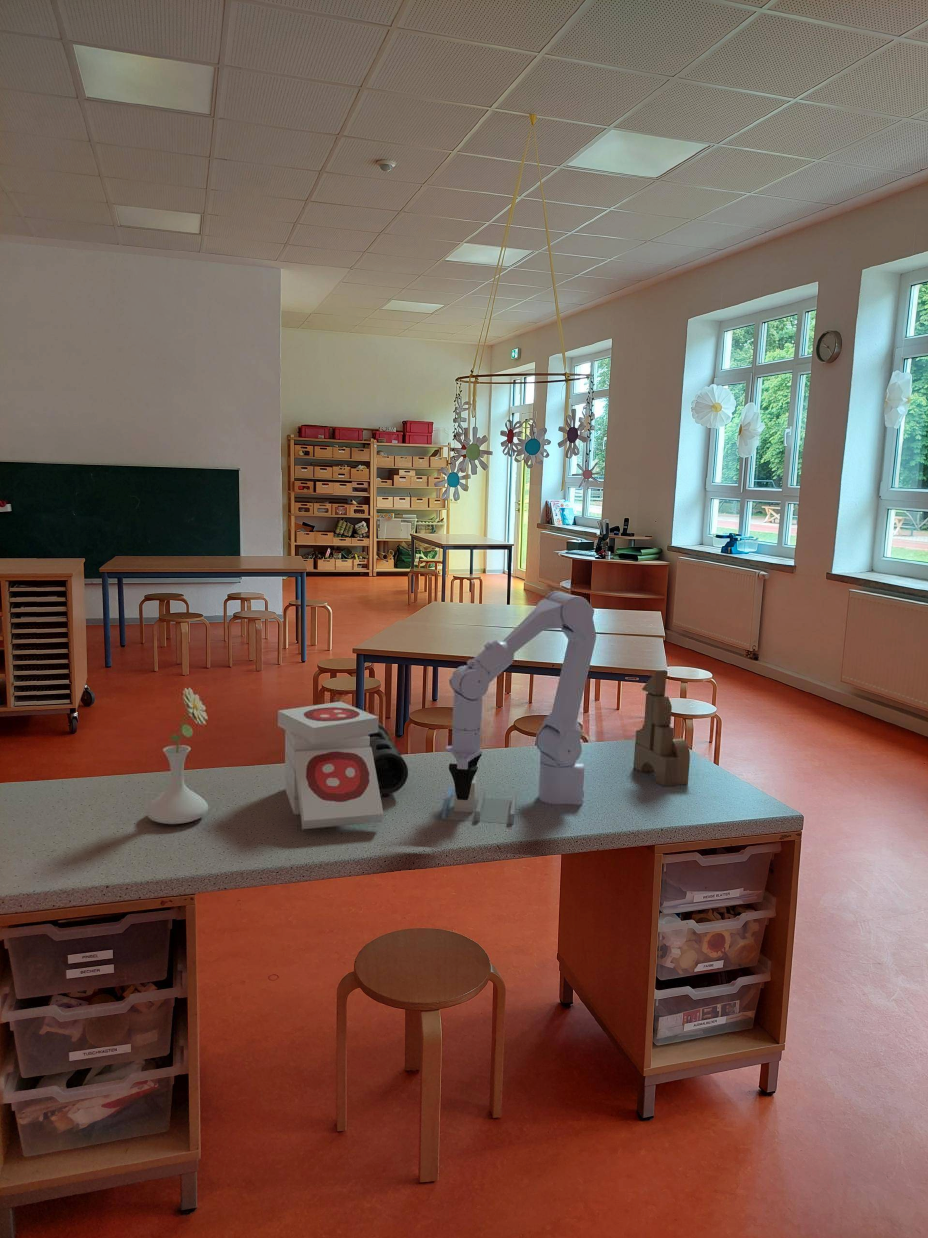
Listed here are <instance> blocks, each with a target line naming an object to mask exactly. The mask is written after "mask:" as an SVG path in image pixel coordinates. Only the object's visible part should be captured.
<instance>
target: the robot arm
mask: <svg viewBox="0 0 928 1238" xmlns="http://www.w3.org/2000/svg"><path fill="white" fill-rule="evenodd" d="M594 615H595V609H594V608H593V606H592V605H591V604H590V603H589V601H588V600H587V599H586V598H584V597H583V596H580V595H579V596H577V595H573V594H570V593H567V592H566V593H565V592H564V591H562V590H554V591H551V592H550V593H548V594H547V595H546V596H545V598H542V599H541V600H540V601H538V602H537V605H536V606H535V608H534V609H533V610H532V611H531V612H530V613H529V614H528V615H527V616H526V617H525V618H524V619H523V620H522V621H521V622H520V623H519V624H518V625H516V627H515V628H514V629H513V630H512V631H511V632H509V634H508V635H507V636H506V637H505V638H504V639H503V640H493V641H491V642H489V641H488V642H487V643H485V644H484V645H483V646H484V649H483V650H481V651H480V652H479V653H478V654H477V655H476V656H474V657H473V658H472V659H468V660H467V661H466V665H461V666H458V667H457V668H456V669H454V671H453V672H452V675H451V678H449V680H448V682H449V685H450V688H451V689H452V691H453V702H452V703H453V704H452V706H453V707H452V708H453V709H452V730H451V731H452V736H451V745H446V747H445V752H447V753H451V754H452V755H453V757H454V758H455V760H456V763H452V762H451V763H448V770H449V773H450V775H451V777H452V779H453V784H454V792H455V791H456V796H457V799H458V800H468V798H469V794H470V789H471V784H472V780H473V777H475V776H476V773H477V772H478V769H479V766H477V765H478V763H479V760H480V759H481V757H482V755H483V751H482V748H481V746H482V745H481V742H482V719H483V718H482V717H483V716H482V715H483V696H485V695H486V694H487V692H488V690H489V687H490V686H489V685H490V684H491V682H492V681H494V680H495V679H496V678H497V677H498V676H499V675H500V674H501V673H502V672H504V671H505V670H506V669H507V668H508V667H510V666H511V665H512V664H513V662H514V659H515V653H516V652H518V651H519V650H520V649H521V648H523V647H524V646H525V645H527V644H528V643H529V642H530V641H532V640H533V639H534V638H536V637H537V636H538V635H539V634H540V633H542V632H543V631H545V630H550V629H554V630H555V629H560V631H561V632H563V634H564V636H565V637H566V638H567V645H566V650H565V653H564V656H563V662H562V667H561V670H560V674H559V679H558V683H557V687H556V688H557V689H556V692H555V696H554V699H553V705H552V708H551V709H552V710H551V712H550V713H549V714H548V715H547V716H545V718H544V719H543V723H542V725H541V727H540V729H539V730H538V732H537V733H536V736H535V742H534V743H535V746H536V748H537V749H538V750H539V752H540V755H539V756H540V757H539V760H540V761H539V772H538V773H539V776H538V791H537V792H538V793H537V795H538V799H539V800H540V801H541V802H543V803H547V804H552V805H576V806H577V805H579V806H583V799H584V798H585V789H584V784H585V783H584V779H585V764H584V763H585V762H584V763H583V762H579V761H578V760H579V759H580V757H581V754H582V751H583V749H582V743H581V741H582V740H581V739H582V733H583V732H582V728H581V727H580V724H579V721H578V717H579V713H580V709H581V704H582V701H583V695H584V692H585V687H586V684H587V678H588V675H589V670H590V666H591V662H592V657H593V652H594V649H595V644H596V640H597V632H596V627H595V621H594Z"/></svg>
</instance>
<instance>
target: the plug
mask: <svg viewBox="0 0 928 1238" xmlns="http://www.w3.org/2000/svg"><path fill="white" fill-rule="evenodd" d="M477 778H478V777H477V776H474V777H473V780H472V784H471V789H470V794H469V798H468V800H458V799H457V796H456V791H455V790H454V792H453V796H454V811H462V812H474V810H475V806H476V797H477V785H478V784H477V782H478V781H477Z"/></svg>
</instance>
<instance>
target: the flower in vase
mask: <svg viewBox="0 0 928 1238" xmlns="http://www.w3.org/2000/svg"><path fill="white" fill-rule="evenodd" d="M193 691H194V690H192V688H191V687H188V689H187V688H184V690H183V692H182V693H183V695H182V698H183V700H182V701H183V704H184V705H185V709H186V710H187V711H186V712H185V714H184V717H183V719H182V721H181V724H180V729H179V732H178V733H179V734H178V735H176V734H174V733H173V734H172V735H171V737H170V738H169V739H168V741H170V742H177V744H176V745H175V744H174V745H169V746H166V747H164V748H163V749H162V751H163V752H162V753H164V754H165V755H166V757H167V759H168V763H169V766H170V767H169V768H170V785H169V786H168V788H167V789H166V790H165V791H164V792H163V793H161V794H159V796H157V797H156V798H155V799H154V800H153V801H152V802H151V803H150V804H149V805H148V806H147V809H146V812H145V814H146V816H147V817H148V818H149V820H151V821H153V822H155V823H158V824H159V823H160V824H167V825H178V824H179V825H180V824H185V823H190V822H194V821H197V820H199V819H201V818H203V817H204V816H205V815H206V814H207V813H208V812H209V804H208V803H207V801H206V800H205V799H204V798H203V797H201V796H200V795H199V794H197V793H196V792H194V791H192V790H191V789H189V788H188V787H187V786H186V783H185V781H184V780H185V779H184V767H185V766H184V765H185V761H186V758H187V755H188V754H189V752H190V751H191V747H190V746H188V745H183V744H180V741H181V740H182V739H183V738H184V736H185V737H186V738H190V737H192V736H193V728H192V727H191V726H190V725H188V724H184V723H185V722H186V718H187V716H188V715H189V716H190V717H191V719H192V720H193V721H194V723H195V724H196V725H200V726H204V725H207V723H206V721H205V720H207V721H208V719H209V718H208V715H207V712H205V711H206V706H205V705H204V704H203V702H202V700H200V696H199V694H194V692H193ZM182 735H184V736H182Z"/></svg>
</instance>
